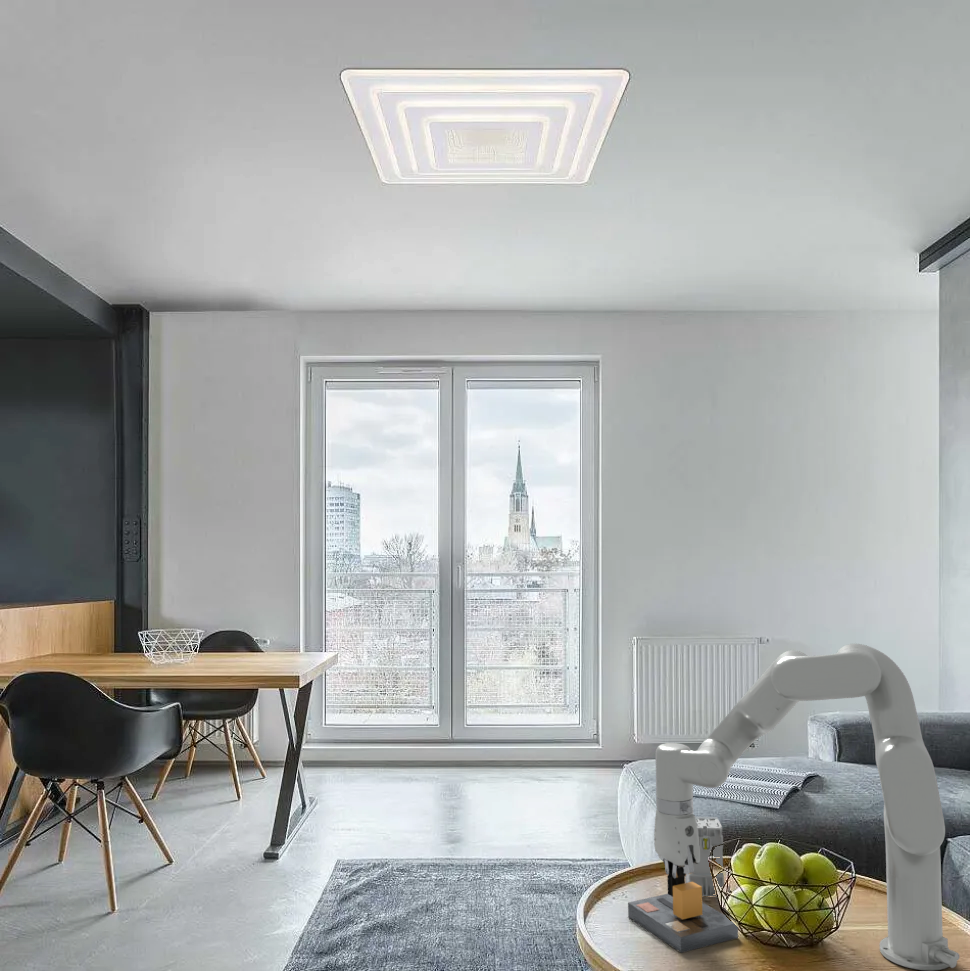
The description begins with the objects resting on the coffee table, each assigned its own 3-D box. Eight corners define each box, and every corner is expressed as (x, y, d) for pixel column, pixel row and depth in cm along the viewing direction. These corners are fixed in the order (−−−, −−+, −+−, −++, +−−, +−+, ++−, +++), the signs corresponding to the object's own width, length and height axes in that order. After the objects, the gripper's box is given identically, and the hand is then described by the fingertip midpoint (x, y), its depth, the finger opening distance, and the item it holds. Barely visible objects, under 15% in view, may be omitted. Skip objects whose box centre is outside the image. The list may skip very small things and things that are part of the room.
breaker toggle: (702, 914, 188) (701, 886, 188) (682, 919, 186) (681, 891, 186) (693, 909, 191) (692, 881, 191) (673, 913, 189) (672, 885, 189)
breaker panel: (738, 937, 185) (737, 922, 185) (681, 952, 179) (680, 936, 179) (682, 904, 201) (682, 889, 202) (628, 916, 195) (628, 902, 196)
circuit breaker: (714, 872, 219) (713, 808, 220) (724, 897, 205) (722, 828, 206) (682, 871, 220) (681, 807, 220) (689, 896, 206) (688, 827, 206)
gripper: (712, 812, 187) (714, 904, 187) (668, 793, 201) (669, 879, 200) (681, 818, 184) (683, 912, 184) (639, 798, 198) (640, 885, 197)
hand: (676, 894), depth 192 cm, fingers closed
